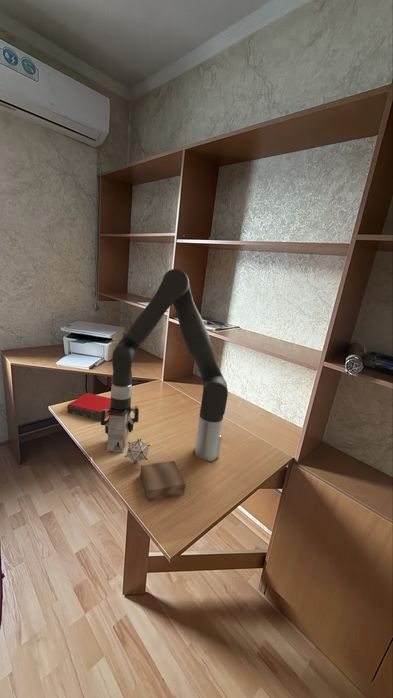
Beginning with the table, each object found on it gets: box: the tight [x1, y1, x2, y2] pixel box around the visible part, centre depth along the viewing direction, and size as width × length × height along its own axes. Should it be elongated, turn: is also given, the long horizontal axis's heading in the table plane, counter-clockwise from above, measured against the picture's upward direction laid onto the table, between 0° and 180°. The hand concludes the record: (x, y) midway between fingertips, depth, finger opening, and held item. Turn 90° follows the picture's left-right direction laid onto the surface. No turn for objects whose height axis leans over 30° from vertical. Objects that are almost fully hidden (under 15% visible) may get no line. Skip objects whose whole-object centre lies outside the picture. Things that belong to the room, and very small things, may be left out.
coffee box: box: [106, 410, 131, 453], centre depth 113 cm, size 9×6×16 cm
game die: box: [124, 438, 151, 464], centre depth 105 cm, size 9×8×10 cm
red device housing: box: [66, 392, 111, 421], centre depth 138 cm, size 18×14×5 cm
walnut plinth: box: [139, 460, 186, 502], centre depth 97 cm, size 12×12×4 cm
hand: (118, 432), depth 114 cm, fingers closed on coffee box, 8 cm apart
